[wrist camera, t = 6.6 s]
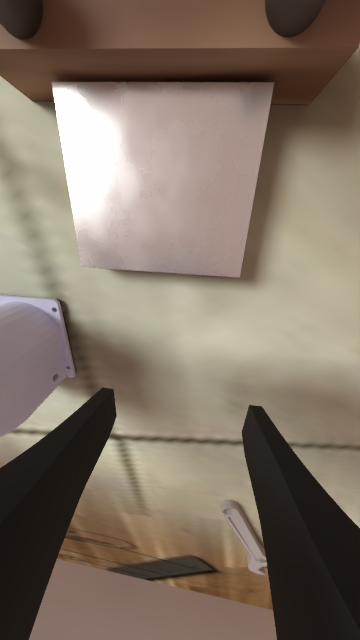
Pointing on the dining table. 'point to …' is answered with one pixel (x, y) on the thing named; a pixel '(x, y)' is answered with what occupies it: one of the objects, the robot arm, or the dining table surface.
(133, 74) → the stop rail
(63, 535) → the robot arm
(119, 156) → the plate
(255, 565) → the adjustable wrench
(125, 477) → the dining table surface
